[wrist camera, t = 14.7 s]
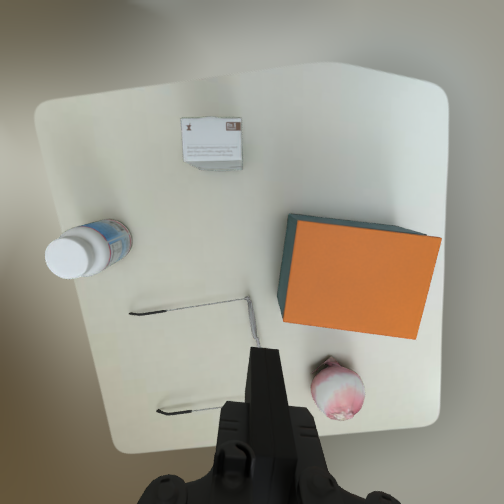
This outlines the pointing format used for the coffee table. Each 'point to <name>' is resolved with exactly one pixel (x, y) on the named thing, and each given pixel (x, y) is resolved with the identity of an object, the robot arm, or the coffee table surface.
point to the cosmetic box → (212, 143)
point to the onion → (337, 391)
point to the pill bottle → (88, 249)
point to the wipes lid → (359, 279)
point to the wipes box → (295, 217)
